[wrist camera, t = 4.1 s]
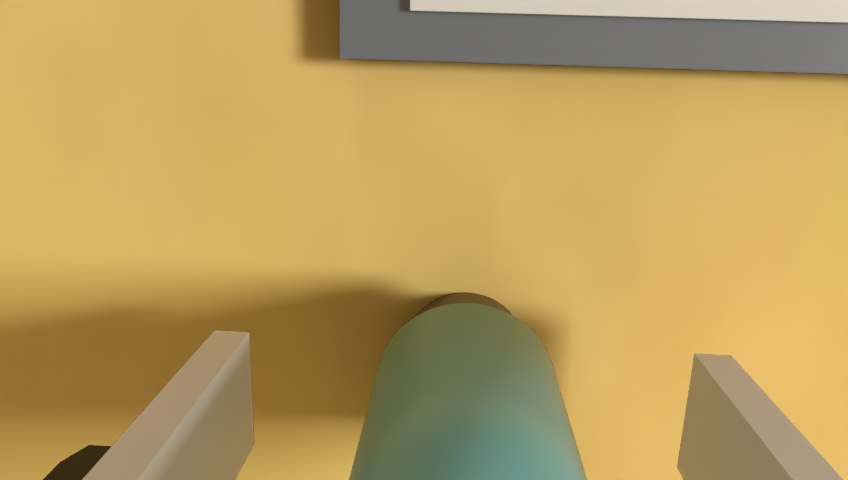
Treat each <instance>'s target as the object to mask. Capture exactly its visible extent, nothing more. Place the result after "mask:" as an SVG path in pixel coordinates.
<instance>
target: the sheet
mask: <svg viewBox="0 0 848 480" xmlns="http://www.w3.org/2000/svg"><path fill="white" fill-rule="evenodd" d="M340 58H345V59H378V60H410V61H443V62H475V63H508V64H540V65H573V66H605V67H638V68H671V69H703V70H736V71H768V72H801V73H833V74H848V0H340Z"/></svg>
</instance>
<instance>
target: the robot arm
mask: <svg viewBox="0 0 848 480" xmlns="http://www.w3.org/2000/svg"><path fill="white" fill-rule="evenodd" d="M253 445H254V427H253V405H252V383H251V361H250V339H249V332H237V331H217V330H214V331H213V333H212V334H211V335H210V336H209V337H208V338H207V339H206V340H205V342H204V343H203V344H202V345H201V346H200V347H199V348H198V350H197V351H196V352H195V353H194V354H193V355H192V356H191V357H190V359H189V360H188V361H187V362H186V363H185V364H184V365H183V366H182V368H181V369H180V370H179V371H178V372H177V373H176V374H175V375H174V377H173V378H172V379H171V380H170V381H169V382H168V383H167V384H166V386H165V387H164V388H163V389H162V390H161V391H160V392H159V394H158V395H157V396H156V397H155V398H154V399H153V400H152V401H151V403H150V404H149V405H148V406H147V407H146V408H145V409H144V410H143V412H142V413H141V414H140V415H139V416H138V417H137V418H136V419H135V421H134V422H133V423H132V424H131V425H130V426H129V427H128V428H127V430H126V431H125V432H124V433H123V434H122V435H121V436H120V438H119V439H118V440H117V441H116V442H115V443H114V444H113V445H112V446H94V445H89V446H87V447H85V448H83V449H82V450H80V451H78V452H77V453H75V454H73V455H72V456H70V457H68V458H66V459H65V460H63V461H61V462H60V463H59V464H58V465H57V466H56V467H55V468H54V469H53V470H52V471H51V472H50V473H49V474H48V475H47V476H46V477H45V478H44V479H43V480H235V479H236V477H237V475H238V474H239V472H240V470H241V468H242V466H243V464H244V462H245V460H246V458H247V457H248V455H249V453H250V451H251V449H252V447H253ZM677 468H678V470H679V472H680V474H681V476H682V477H683V479H684V480H843V479H842V478H841V477H840V476H839V475H838V474H837V472H836V471H835V470H834V469H833V468H832V467H831V466H830V465H829V464H828V462H827V461H826V460H825V459H824V458H823V457H822V456H821V455H820V454H819V452H818V451H817V450H816V449H815V448H814V447H813V446H812V445H811V444H810V442H809V441H808V440H807V439H806V438H805V437H804V436H803V435H802V434H801V432H800V431H799V430H798V429H797V428H796V427H795V426H794V425H793V424H792V422H791V421H790V420H789V419H788V418H787V417H786V416H785V415H784V414H783V412H782V411H781V410H780V409H779V408H778V407H777V406H776V405H775V403H774V402H773V401H772V400H771V399H770V398H769V397H768V396H767V395H766V393H765V392H764V391H763V390H762V389H761V388H760V387H759V386H758V385H757V383H756V382H755V381H754V380H753V379H752V378H751V377H750V376H749V375H748V373H747V372H746V371H745V370H744V369H743V368H742V367H741V366H740V365H739V363H738V362H737V361H736V360H735V359H734V358H733V357H732V356H731V355H712V354H694V359H693V366H692V372H691V379H690V386H689V392H688V399H687V405H686V412H685V418H684V425H683V432H682V438H681V445H680V451H679V458H678V464H677Z"/></svg>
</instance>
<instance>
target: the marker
mask: <svg viewBox="0 0 848 480" xmlns="http://www.w3.org/2000/svg"><path fill="white" fill-rule="evenodd" d="M349 480H587V478H586V475H585V471H584V468H583V465H582V461H581V458H580V455H579V451H578V448H577V445H576V441H575V438H574V434H573V431H572V428H571V424H570V421H569V418H568V414H567V411H566V408H565V404H564V401H563V398H562V394H561V391H560V388H559V384H558V381H557V377H556V374H555V371H554V367H553V364H552V361H551V358H550V356H549V354H548V351H547V349H546V348H545V346H544V344H543V343H542V341H541V340H540V339H539V337H538V336H537V335H536V334H535V333H534V331H533V330H531V329H530V328H529V327H528V326H527V325H526V324H525V323H523V322H522V321H521V320H519V319H518V318H516V317H515V316H513V315H512V314H511V313H510V311H508V310H507V309H506V308H505V307H504V306H503V305H501V304H500V303H498V302H497V301H495V300H493V299H491V298H489V297H486V296H483V295H479V294H474V293H456V294H450V295H446V296H443V297H441V298H438V299H436V300H434V301H433V302H431V303H429V304H428V305H427V306H425V307H424V308H423V309H422V310H421V311H420V312H419V313H418V314H417V316H416V317H414V318H413V319H411V320H410V321H409V322H407V323H406V324H405V325H403V326H402V327H401V328H400V329H399V330H398V331H397V332H396V333H395V335H394V336H393V337H392V339H391V340H390V341H389V343H388V345H387V346H386V348H385V350H384V352H383V354H382V357H381V359H380V362H379V366H378V370H377V374H376V378H375V382H374V385H373V389H372V393H371V397H370V401H369V405H368V409H367V412H366V416H365V420H364V424H363V428H362V432H361V436H360V439H359V443H358V447H357V451H356V455H355V459H354V462H353V466H352V470H351V474H350V478H349Z"/></svg>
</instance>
